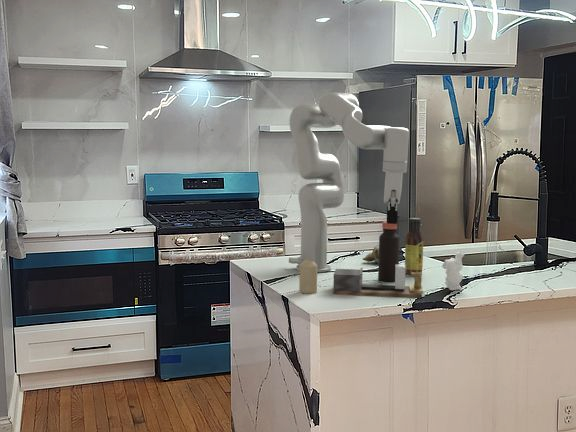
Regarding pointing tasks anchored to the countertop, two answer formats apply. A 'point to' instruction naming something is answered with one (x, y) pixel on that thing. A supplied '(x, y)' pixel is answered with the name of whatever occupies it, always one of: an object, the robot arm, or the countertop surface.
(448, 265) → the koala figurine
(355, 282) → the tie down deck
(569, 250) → the countertop surface
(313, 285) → the candle
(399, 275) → the grey block
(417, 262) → the sauce bottle
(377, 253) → the ceramic sculpture
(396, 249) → the vinegar
